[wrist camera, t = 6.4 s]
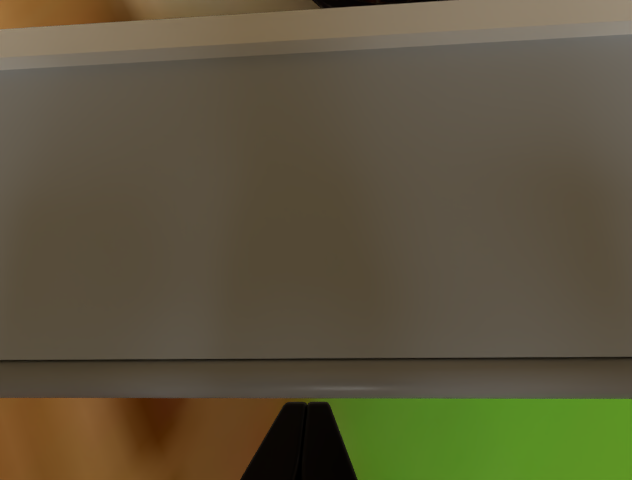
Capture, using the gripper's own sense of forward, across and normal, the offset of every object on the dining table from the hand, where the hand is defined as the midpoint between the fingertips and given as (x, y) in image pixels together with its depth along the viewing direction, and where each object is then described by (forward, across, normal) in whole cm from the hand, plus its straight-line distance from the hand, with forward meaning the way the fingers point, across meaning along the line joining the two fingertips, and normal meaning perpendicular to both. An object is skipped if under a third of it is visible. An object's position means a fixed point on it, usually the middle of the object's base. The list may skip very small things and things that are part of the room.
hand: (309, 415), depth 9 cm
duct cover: (+6, 0, -2) cm, 7 cm away
